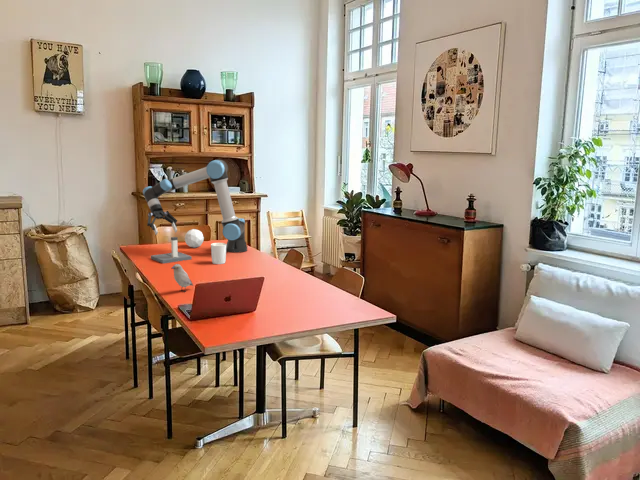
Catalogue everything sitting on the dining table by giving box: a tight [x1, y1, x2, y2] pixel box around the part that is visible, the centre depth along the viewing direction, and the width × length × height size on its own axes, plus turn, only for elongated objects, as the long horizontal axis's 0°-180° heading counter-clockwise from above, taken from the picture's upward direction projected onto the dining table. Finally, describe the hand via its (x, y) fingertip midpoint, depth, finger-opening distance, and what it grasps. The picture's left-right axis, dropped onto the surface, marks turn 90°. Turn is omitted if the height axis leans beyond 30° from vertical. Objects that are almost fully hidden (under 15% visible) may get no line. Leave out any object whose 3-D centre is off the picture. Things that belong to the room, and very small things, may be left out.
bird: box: [170, 263, 194, 293], centre depth 274 cm, size 5×14×15 cm, turn 142°
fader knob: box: [170, 236, 179, 258], centre depth 341 cm, size 3×3×13 cm
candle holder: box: [210, 242, 227, 265], centre depth 339 cm, size 10×10×12 cm
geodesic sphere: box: [184, 228, 205, 249], centre depth 385 cm, size 14×14×14 cm
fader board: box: [150, 251, 193, 264], centre depth 346 cm, size 20×17×2 cm
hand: (166, 232), depth 347 cm, fingers open, 13 cm apart
